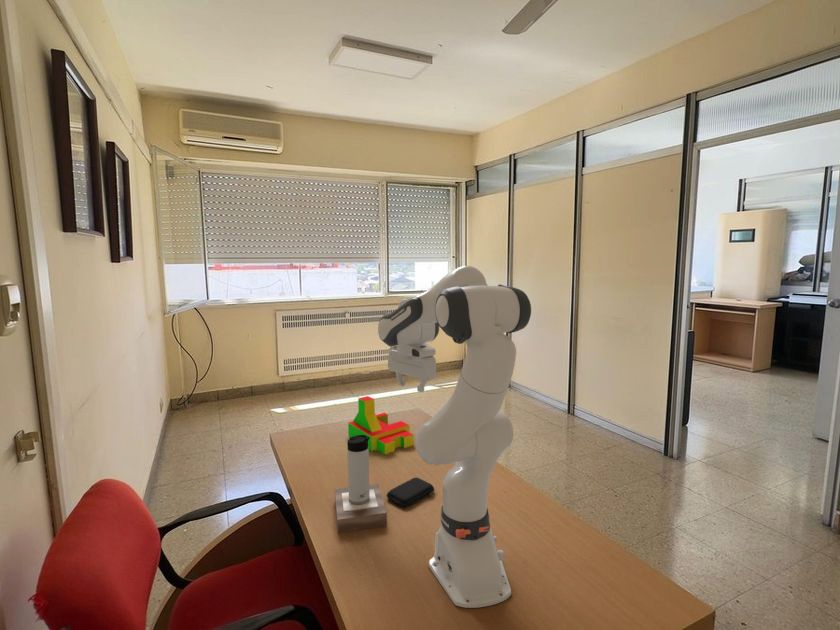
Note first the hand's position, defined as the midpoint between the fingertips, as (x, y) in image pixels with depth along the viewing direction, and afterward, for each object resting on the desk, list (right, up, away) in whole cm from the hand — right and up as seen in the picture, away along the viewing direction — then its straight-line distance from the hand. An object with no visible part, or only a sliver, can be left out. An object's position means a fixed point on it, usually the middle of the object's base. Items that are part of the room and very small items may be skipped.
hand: (411, 388), depth 146 cm
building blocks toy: (-13, -29, +41) cm, 52 cm away
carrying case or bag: (0, -35, -2) cm, 35 cm away
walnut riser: (-16, -36, -11) cm, 41 cm away
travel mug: (-15, -32, -12) cm, 37 cm away
